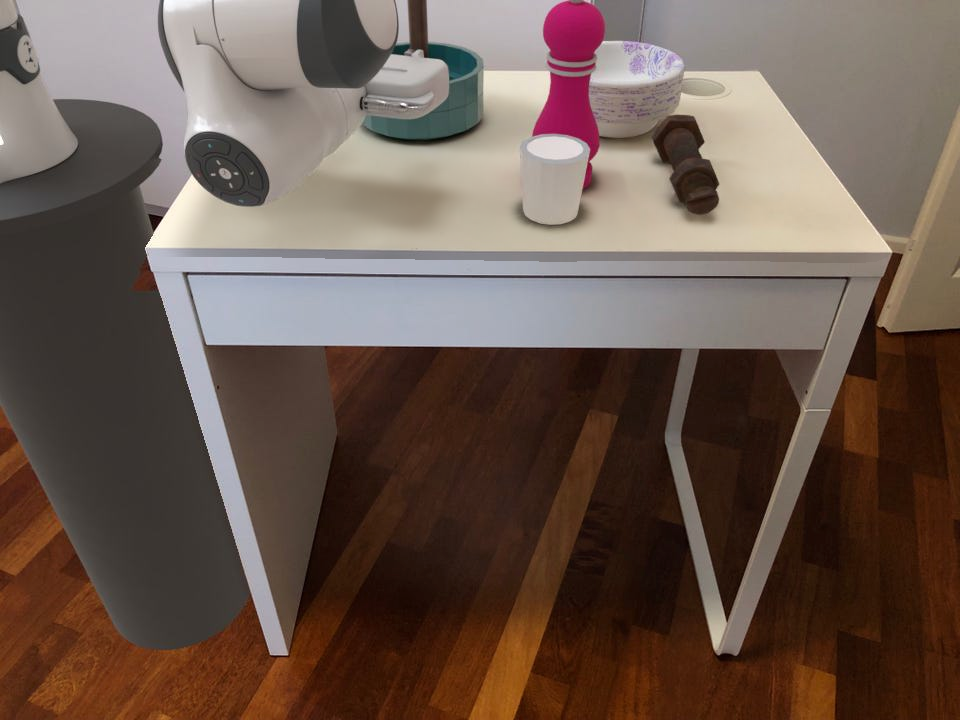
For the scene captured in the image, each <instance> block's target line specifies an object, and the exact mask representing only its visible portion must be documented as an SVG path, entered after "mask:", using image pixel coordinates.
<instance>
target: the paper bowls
mask: <svg viewBox="0 0 960 720" xmlns="http://www.w3.org/2000/svg"><path fill="white" fill-rule="evenodd" d="M594 53H595V54H596V55H597V61H596V70H595V71H594V72H593V73H591V77H590V82H589V100H590V106H591V109H592V112H593V115H594V117H595V120H596V123H597V126H598V131H599V137H604V138H612V139H613V138H615V139H623V138H625V139H626V138H633V137H637V136H640V135H643V134H646V133H648V132H649V131H651V130H653V129H654V128H655V126H656V125H657V124H658V122H659V121H660V120H661V119H663V118H666V117H667V116H670V115H671V114H673V113H674V112H676V110H677V109H678V107H679V105H680V102H681V98H682V97H681V96H682V91H683V81H684V76H685V69H686V67H685V63H684V60H683V59H682V58H681V57H680V56H679V55H678V54H677V53H675V52H674V51H671V50H669V49H667V48H664V47H662V46H658V45H654V44H651V43H645V42H640V41H632V40H631V41H629V40H603V41H602V43H601V45H600V46H599V47H598V48H597V49H596V50H595V52H594Z"/></svg>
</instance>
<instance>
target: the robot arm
mask: <svg viewBox="0 0 960 720" xmlns="http://www.w3.org/2000/svg"><path fill="white" fill-rule="evenodd" d="M398 12H399V11H398V7H397V2H396V0H159V2H158V10H157V31H158V38H159V42H160V46H161V49H162V51H163V55H164V57H165V60H166V63H167V65H168V67H169V69H170V71H171V73H172V75H173V76H174V78H175V80H176V81H177V83H178V85H179V86H180V88H181V90H182V91H183V93H184V96H185V102H186V108H187V110H186V111H187V121H186V130H185V132H184V136H183V137H184V138H183V144H182V145H183V156H184V160H185V163H186V165H187V168H188V170H189V172H190V174H191V175H192V177H193V178H194V179H195V181H196V182H197V183H198V184H199V185H200V186H201V187H202V188H203V189H204V190H205V191H207V192H208V193H209V194H210V195H212V196H213V197H215V198H216V199H219V200H220V201H223V202H225V203H228V204H230V205H233V206H238V207H246V208H257V207H263V206H266V205H269V204H271V203H273V202H275V201H277V200H279V199H281V198H282V197H284V196H286V195H287V194H288V193H291V191H293V190H294V189H295V188H297V187H298V186H299V185H300V184H302V183H303V182H304V181H305V180H306V179H307V178H308V177H310V176H311V175H312V174H313V173H314V172H315V171H316V169H317V168H318V167H319V166H320V164H321V163H322V161H323V159H324V158H327V157H329V156H330V155H332V154H334V153H335V152H336V151H337V150H338V149H339V148H340V147H341V146H342V145H343V144H344V143H346V142H347V140H349V139H350V138H351V137H352V136H353V135H354V134H355V133H356V132H357V131H358V130H359V129H360V128H361V126H363V125H362V123H363V121H364V119H365V116H366V115H373V116H381V117H389V118H397V119H416V118H419V117H422V116H424V115H426V114H428V113H429V112H431V111H432V110H434V109H435V108H436V107H438V106H439V105H440V104H441V103H443V102H444V101H445V100H446V99H447V97H448V94H449V71H448V66H447V65H446V63H445V62H444V61H442V60H439V59H430V58H424V52H423V50H418V49H408V51H406V52H405V53H404V56H403V55H394V54H391V53H392V51H393V49H394V47H395V45H396V43H398V38H399V31H400V29H399V28H400V27H399V25H400V23H399V14H398ZM77 146H78V140H77V138H76V137H75V135H74V134H73V132H72V131H71V130H70V128H69V127H68V125H67V124H66V122H65V121H64V119H63V117H62V116H61V114H60V112H59V110H58V109H57V107H56V105H55V103H54V101H53V97H52V96H51V93H50V91H49V90H48V87H47V85H46V83H45V81H44V79H43V76H42V74H41V66H40V63H39V58H38V55H37V51H36V48H35V46H34V43H33V41H32V38H31V35H30V32H29V30H28V27H27V25H26V22H25V20H24V17H23V16H22V15H21V14H19V13H18V11H17V9H16V6H15V3H14V1H13V0H0V184H1V183H3V182H6V181H9V180H13V179H17V178H21V177H25V176H28V175H32V174H35V173H38V172H41V171H43V170H46V169H48V168H51V167H53V166H55V165H57V164H59V163H60V162H62V161H64V160H65V159H67V158H68V157H69V156H70V155H72V154H73V152H74V151H75V150H76V148H77Z"/></svg>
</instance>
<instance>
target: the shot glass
mask: <svg viewBox="0 0 960 720" xmlns="http://www.w3.org/2000/svg"><path fill="white" fill-rule="evenodd" d="M589 153H590V148H589V146H588V145H587V143H585V142H584V141H582V140H580V139H578V138H575V137H572V136H568V135H561V134H541V135H537V136H533V137H532V136H529V137H528V138H526V139H525V140H523V141H522V142H521V143H520V145H519V163H520V179H521V181H520V182H521V196H522V197H521V198H522V200H521V201H522V211H523V214H524V216H525V217H526V218H527V219H529V220H530V221H532V222H534V223H538V224H540V225H541V224H542V225H549V226H555V225H564V224H566V223H570V222H572V221H573V220H575V219H576V218H577V217H578V213H579V209H580V203H581V198H582V192H583V190H584V189H583V183H584V178H585V173H586V168H587V163H588V158H589Z"/></svg>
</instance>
